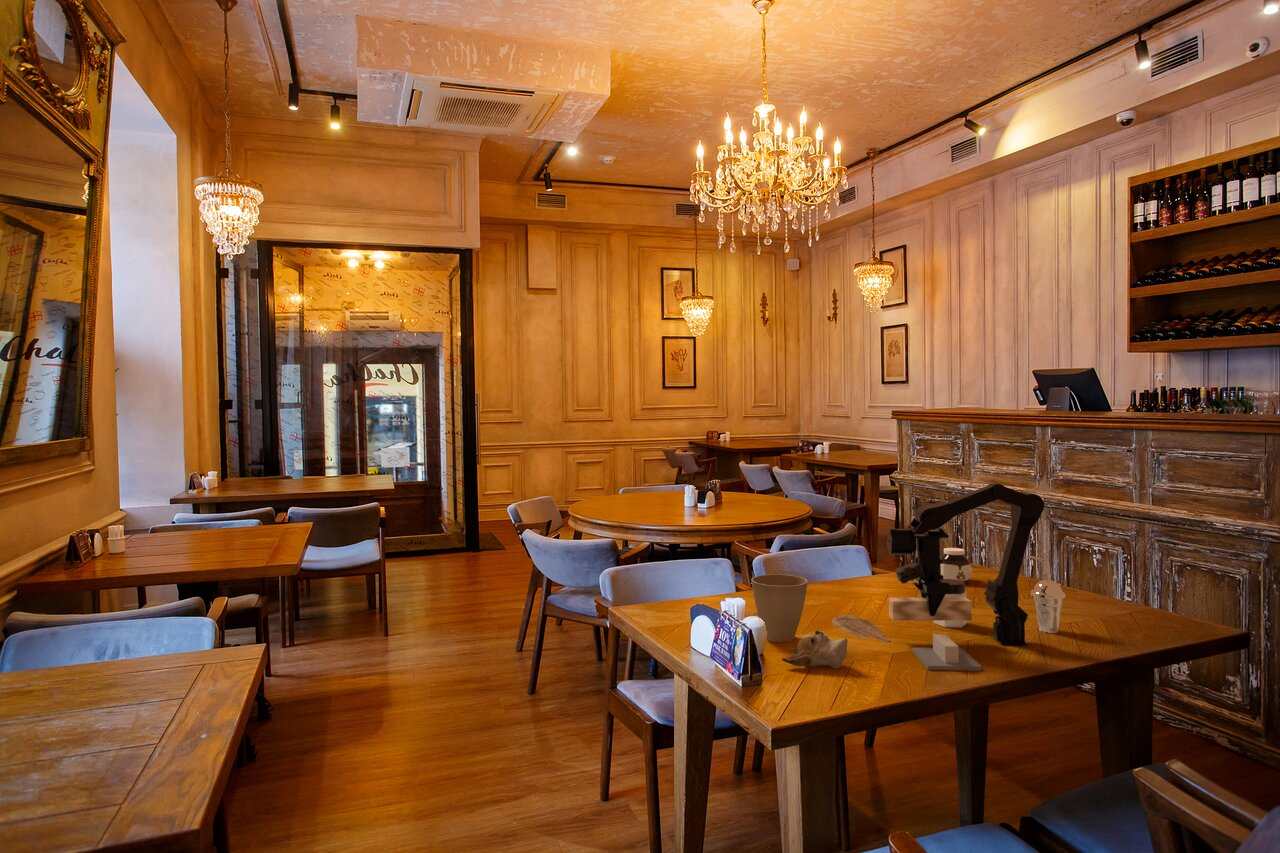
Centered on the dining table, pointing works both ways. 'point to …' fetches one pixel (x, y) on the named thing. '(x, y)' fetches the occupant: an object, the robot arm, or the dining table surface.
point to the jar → (957, 592)
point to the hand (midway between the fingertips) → (929, 613)
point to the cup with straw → (1047, 602)
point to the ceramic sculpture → (818, 651)
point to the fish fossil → (859, 627)
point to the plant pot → (779, 604)
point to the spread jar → (955, 565)
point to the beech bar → (920, 610)
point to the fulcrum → (945, 656)
